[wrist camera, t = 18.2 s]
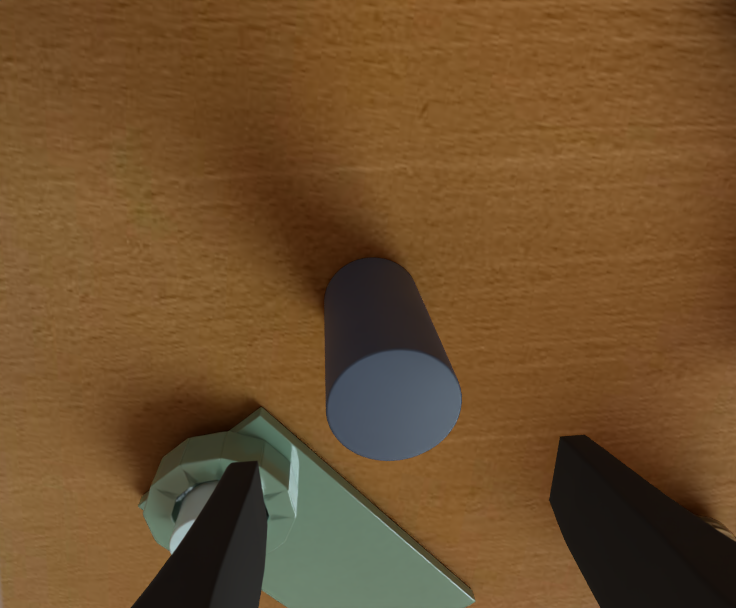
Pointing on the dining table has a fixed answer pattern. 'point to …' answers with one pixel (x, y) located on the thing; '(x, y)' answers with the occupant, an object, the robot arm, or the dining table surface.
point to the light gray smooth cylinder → (190, 511)
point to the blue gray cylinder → (385, 364)
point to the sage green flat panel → (307, 524)
